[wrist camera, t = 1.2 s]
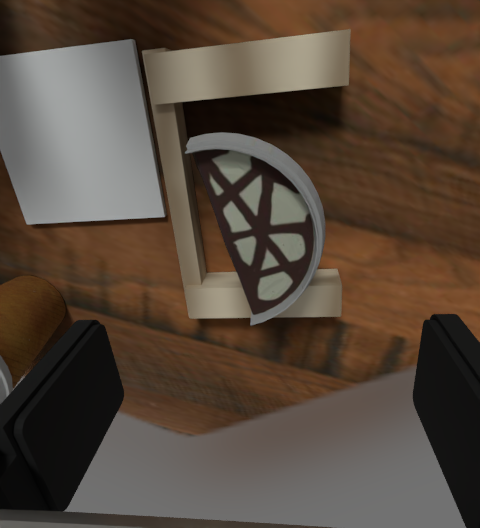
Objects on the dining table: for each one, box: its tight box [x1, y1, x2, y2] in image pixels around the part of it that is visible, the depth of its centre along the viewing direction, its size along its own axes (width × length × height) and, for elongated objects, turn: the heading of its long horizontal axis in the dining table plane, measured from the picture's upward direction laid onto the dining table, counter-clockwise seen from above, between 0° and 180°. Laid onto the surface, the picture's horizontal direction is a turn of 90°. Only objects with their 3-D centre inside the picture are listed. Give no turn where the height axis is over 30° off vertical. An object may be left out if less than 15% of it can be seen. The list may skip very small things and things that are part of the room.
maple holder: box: [142, 29, 350, 319], centre depth 28 cm, size 13×21×3 cm, turn 5°
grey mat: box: [0, 39, 167, 224], centre depth 29 cm, size 13×13×1 cm
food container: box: [185, 132, 325, 325], centre depth 25 cm, size 12×6×10 cm, turn 19°
